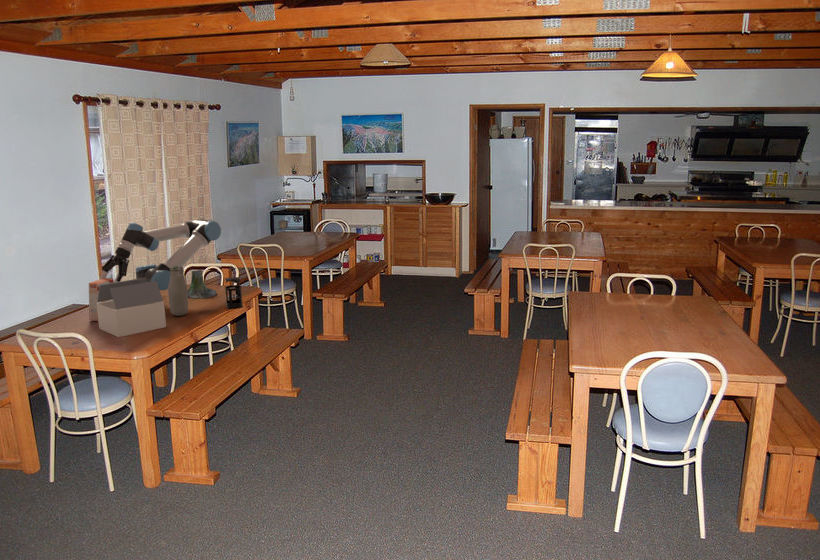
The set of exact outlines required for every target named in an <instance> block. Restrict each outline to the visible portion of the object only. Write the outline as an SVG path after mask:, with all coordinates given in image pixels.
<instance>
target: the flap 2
mask: <svg viewBox="0 0 820 560" xmlns="http://www.w3.org/2000/svg"><path fill="white" fill-rule="evenodd" d="M110 292H111V295H112V298H113V301H114V304H115V307H116V309H120V308H125V307H130V306H136V305H141V304H146V303H152V302H157V301H163V300H164V299H163V297H162V293H161V290H159V287H158V284H157V281H153V282H146V283H140V284H134V285H128V286H122V287H116V288H110ZM163 302H164V301H163Z"/></svg>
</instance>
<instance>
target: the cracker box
mask: <svg viewBox="0 0 820 560" xmlns="http://www.w3.org/2000/svg"><path fill="white" fill-rule="evenodd" d="M99 279H100V278H99ZM99 279H97V280H95V281H91V282H88V307H89V308H88V314H89V315H88V316H89V319H88V320H89V321H92V322H98V313H97V303H101V302H106V301H112V300H113V299H111V300H106V301H100V302H97V299H98V292H99V286H100V285H102V284H108V283H113V282H114V280H115V279H112V278H107V277H106V278H103V279H100V280H99Z"/></svg>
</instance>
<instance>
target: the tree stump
mask: <svg viewBox="0 0 820 560" xmlns="http://www.w3.org/2000/svg"><path fill="white" fill-rule="evenodd" d="M215 296H217V291H216V289H213V288H209V287H208V285H206V283H205V281H204V276H203V270H202V269H201V270H199V269H198V270H193V271H191V283H190V284H189V287H188V299H189V298H190V299H194V300H195V299H196V300H197V299H209V298H213V297H215Z"/></svg>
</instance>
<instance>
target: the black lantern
mask: <svg viewBox="0 0 820 560" xmlns="http://www.w3.org/2000/svg"><path fill="white" fill-rule="evenodd" d="M236 269H237V268H236V267H229V268H228V270H229V271H231V274H232V275H231V276H230V277H226V278H224V280H225V284H226V283H228V282H232V284H231V285H227V286H225V287H224V288H225V298H226V302H225V303H226V307H225V308H226V309H228V310H237V309H242V308H243V307H244V305H243V297H242V296H243V293H242V286H241V285H240V284H239V283H241V280H242V277H240V276H234V274H233V273H234V270H236ZM234 283H235V284H236V285H234Z"/></svg>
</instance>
